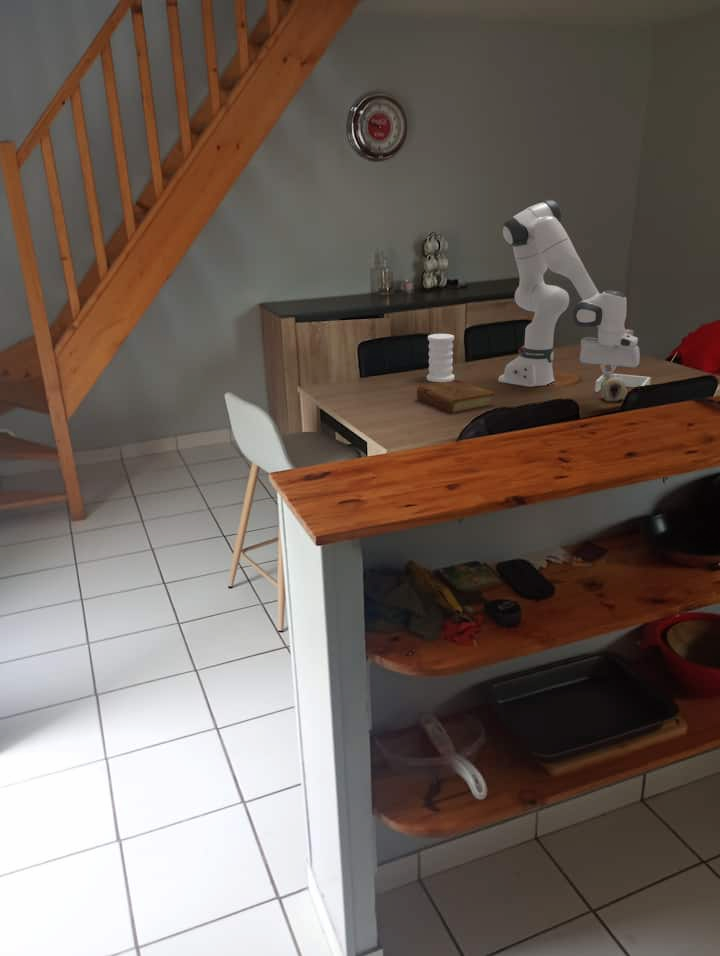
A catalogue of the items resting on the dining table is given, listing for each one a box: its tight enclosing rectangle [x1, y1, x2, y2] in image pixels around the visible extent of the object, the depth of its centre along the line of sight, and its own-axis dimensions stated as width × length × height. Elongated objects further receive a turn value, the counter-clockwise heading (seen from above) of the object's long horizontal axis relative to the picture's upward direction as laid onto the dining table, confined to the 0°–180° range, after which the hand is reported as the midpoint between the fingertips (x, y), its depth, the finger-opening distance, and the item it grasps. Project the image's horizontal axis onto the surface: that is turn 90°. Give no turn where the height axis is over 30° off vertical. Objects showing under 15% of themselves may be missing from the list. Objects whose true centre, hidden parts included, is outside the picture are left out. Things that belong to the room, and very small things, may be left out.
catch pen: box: [594, 373, 652, 393], centre depth 287 cm, size 18×14×4 cm
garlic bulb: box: [600, 373, 628, 403], centre depth 275 cm, size 9×8×10 cm
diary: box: [416, 379, 495, 415], centre depth 278 cm, size 23×19×6 cm
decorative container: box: [426, 333, 455, 383], centre depth 310 cm, size 12×12×18 cm
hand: (607, 377), depth 264 cm, fingers closed
